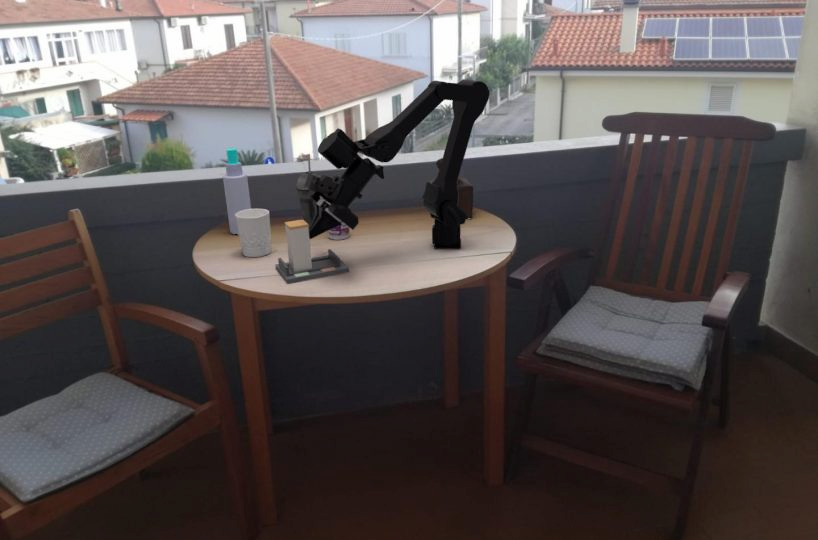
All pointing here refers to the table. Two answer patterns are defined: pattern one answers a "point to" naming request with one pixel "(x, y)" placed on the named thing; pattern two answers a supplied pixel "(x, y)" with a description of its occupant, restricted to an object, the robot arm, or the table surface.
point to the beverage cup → (306, 197)
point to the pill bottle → (339, 232)
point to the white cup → (254, 232)
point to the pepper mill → (462, 194)
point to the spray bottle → (235, 189)
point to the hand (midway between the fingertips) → (308, 237)
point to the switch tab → (298, 245)
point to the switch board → (313, 268)
